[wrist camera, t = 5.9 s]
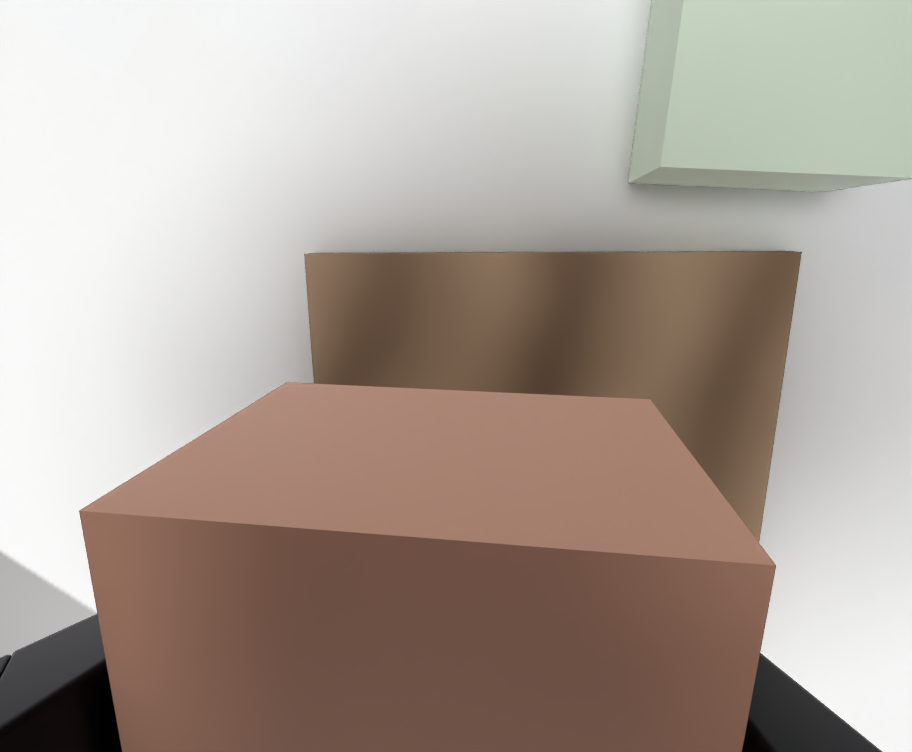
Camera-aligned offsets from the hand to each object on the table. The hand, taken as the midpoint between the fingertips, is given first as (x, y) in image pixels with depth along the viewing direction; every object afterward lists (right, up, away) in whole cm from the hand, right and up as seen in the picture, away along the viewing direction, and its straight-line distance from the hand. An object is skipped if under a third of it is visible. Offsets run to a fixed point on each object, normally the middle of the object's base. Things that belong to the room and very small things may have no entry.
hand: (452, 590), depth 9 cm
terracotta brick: (0, 0, +1) cm, 1 cm away
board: (+3, 0, +12) cm, 12 cm away
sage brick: (+9, +12, +8) cm, 17 cm away
